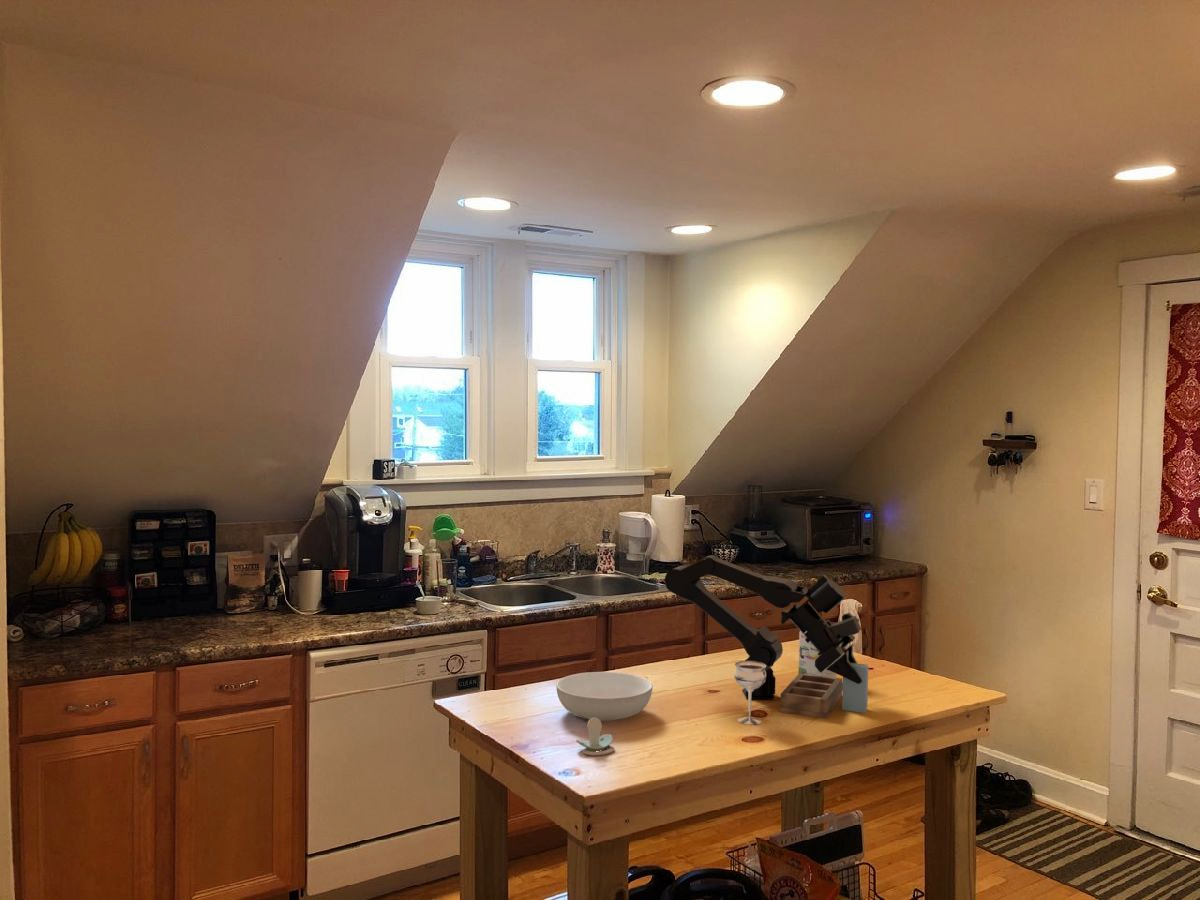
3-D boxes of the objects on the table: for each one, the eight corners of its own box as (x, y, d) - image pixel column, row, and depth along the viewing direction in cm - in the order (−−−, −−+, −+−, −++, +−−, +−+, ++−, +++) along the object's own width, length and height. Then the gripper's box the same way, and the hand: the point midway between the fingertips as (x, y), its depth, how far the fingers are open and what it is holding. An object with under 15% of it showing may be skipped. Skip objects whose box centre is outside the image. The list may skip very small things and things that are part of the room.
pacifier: (620, 754, 178) (605, 743, 183) (621, 722, 178) (606, 712, 183) (587, 760, 174) (572, 749, 180) (588, 728, 174) (573, 717, 179)
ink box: (797, 676, 232) (798, 630, 232) (811, 674, 235) (812, 628, 234) (822, 685, 225) (823, 637, 224) (836, 682, 228) (837, 634, 227)
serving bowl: (661, 705, 208) (661, 674, 208) (639, 735, 188) (640, 702, 187) (572, 696, 213) (572, 667, 213) (542, 725, 193) (542, 692, 193)
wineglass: (754, 728, 193) (755, 671, 193) (727, 721, 197) (728, 665, 197) (771, 720, 198) (772, 664, 198) (744, 713, 203) (745, 659, 202)
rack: (780, 711, 204) (780, 693, 204) (799, 689, 221) (799, 672, 221) (825, 718, 200) (826, 700, 200) (841, 695, 217) (842, 678, 217)
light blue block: (842, 709, 206) (843, 665, 206) (844, 706, 209) (845, 661, 209) (865, 713, 204) (866, 668, 204) (867, 709, 207) (868, 664, 206)
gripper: (831, 611, 199) (883, 668, 195) (846, 596, 216) (894, 649, 212) (793, 643, 202) (844, 700, 198) (811, 626, 219) (858, 678, 215)
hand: (861, 680), depth 206 cm, fingers closed on light blue block, 3 cm apart
